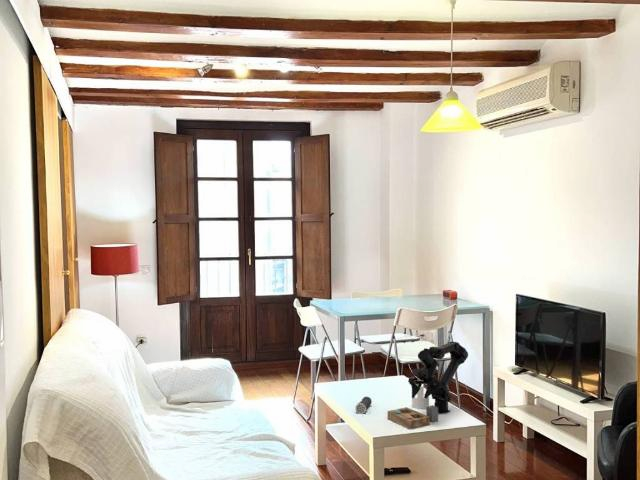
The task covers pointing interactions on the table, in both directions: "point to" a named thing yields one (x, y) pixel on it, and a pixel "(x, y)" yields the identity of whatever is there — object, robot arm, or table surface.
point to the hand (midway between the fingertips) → (418, 397)
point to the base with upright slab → (420, 399)
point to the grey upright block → (432, 413)
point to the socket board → (408, 418)
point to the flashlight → (363, 405)
